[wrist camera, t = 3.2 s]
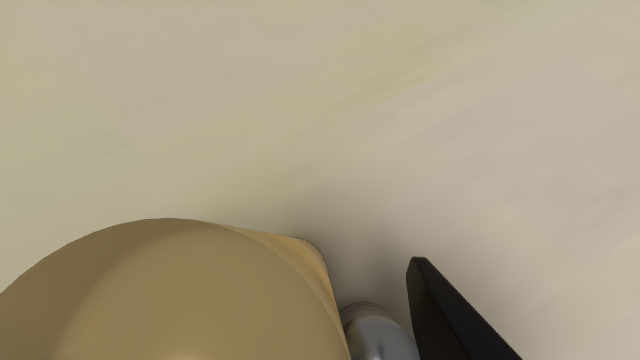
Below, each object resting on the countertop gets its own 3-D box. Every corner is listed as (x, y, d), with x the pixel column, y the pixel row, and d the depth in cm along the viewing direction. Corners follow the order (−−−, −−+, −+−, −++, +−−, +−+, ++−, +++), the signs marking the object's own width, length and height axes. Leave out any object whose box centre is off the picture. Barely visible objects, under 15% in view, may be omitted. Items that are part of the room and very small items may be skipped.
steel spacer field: (409, 358, 14) (444, 404, 10) (62, 522, 12) (-55, 649, 9) (342, 200, 16) (349, 186, 12) (34, 324, 14) (-72, 354, 10)
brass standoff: (337, 295, 15) (448, 616, 2) (269, 324, 14) (-95, 928, 2) (311, 227, 16) (275, 162, 3) (246, 253, 15) (-113, 309, 3)
